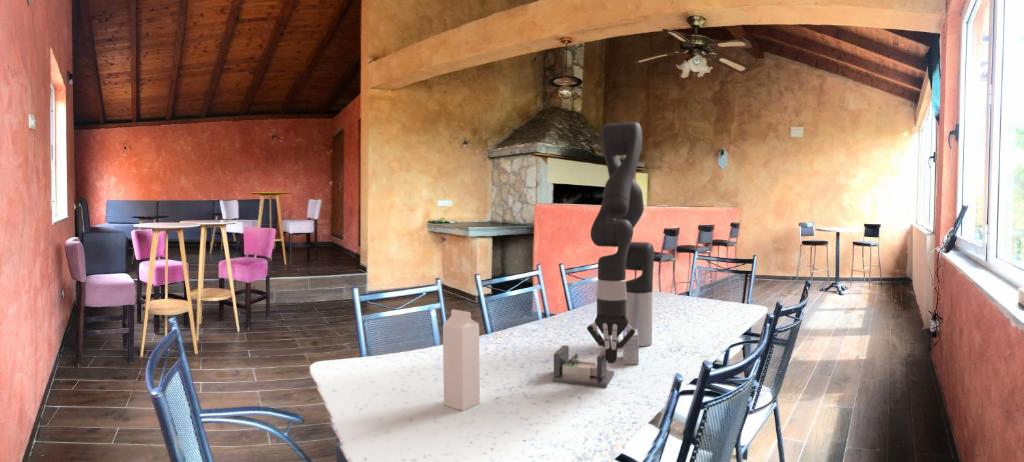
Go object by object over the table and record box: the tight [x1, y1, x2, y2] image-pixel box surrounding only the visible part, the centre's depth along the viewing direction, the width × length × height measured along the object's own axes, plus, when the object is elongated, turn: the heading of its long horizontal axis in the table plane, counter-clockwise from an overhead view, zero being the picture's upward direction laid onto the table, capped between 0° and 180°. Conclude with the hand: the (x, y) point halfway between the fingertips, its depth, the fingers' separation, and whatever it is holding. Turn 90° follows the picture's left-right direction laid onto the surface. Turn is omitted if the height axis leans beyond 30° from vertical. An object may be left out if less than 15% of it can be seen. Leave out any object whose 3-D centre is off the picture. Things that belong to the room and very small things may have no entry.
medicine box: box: [622, 329, 640, 365], centre depth 158 cm, size 8×4×9 cm, turn 168°
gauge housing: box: [552, 344, 615, 389], centre depth 142 cm, size 11×14×7 cm
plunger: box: [569, 350, 608, 379], centre depth 142 cm, size 6×9×6 cm, turn 68°
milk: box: [442, 309, 481, 412], centre depth 124 cm, size 6×6×22 cm
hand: (611, 362), depth 140 cm, fingers closed
